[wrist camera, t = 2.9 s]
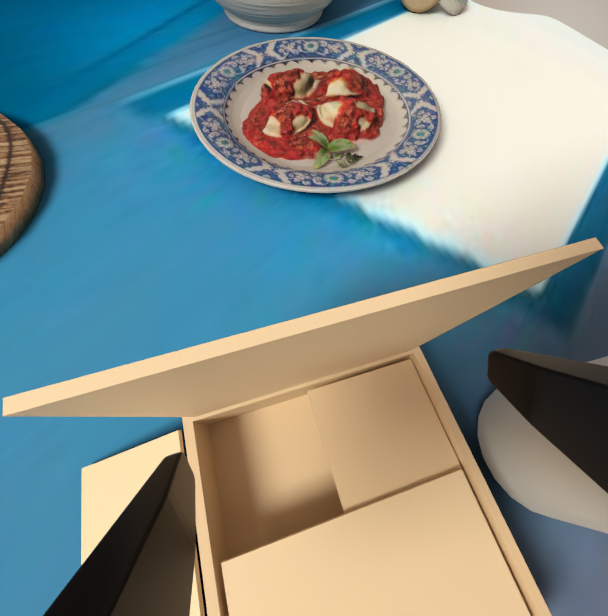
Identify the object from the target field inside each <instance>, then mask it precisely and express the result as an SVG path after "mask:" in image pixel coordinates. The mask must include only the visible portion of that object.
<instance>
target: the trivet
mask: <svg viewBox="0 0 608 616" xmlns="http://www.w3.org/2000/svg"><path fill="white" fill-rule="evenodd" d="M44 188H45V175H44V162H43V160H42V158H41V156H40V155H39V153H38V151H37V149H36V147H35V145H34V144H33V143H32V141H31V140H30V139H29V138H28V137H27V136H26V134H25V133H24V132H23V131H22V130H21V129H20V128H19V127H18V126H16V125H15V124H14V123H13V122H11V121H10V120H9V119H7V118H6V117H5V116H4V115H2V114H0V257H1V256H2V255H3V254H4V253H5V252H6V251H7V250H8V249H9V248H10V247H11V246H12V245H14V243H15V242H16V240H17V239H18V238H19V236H20V235H21V233H22V232H23V231H24V229H25V228H26V226H27V225H28V224H29V222H30V221H31V219H32V218H33V217H34V215H35V213H36V211H37V208H38V205H39V202H40V199H41V196H42V194H43V191H44Z"/></svg>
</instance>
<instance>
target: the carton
mask: <svg viewBox="0 0 608 616" xmlns="http://www.w3.org/2000/svg"><path fill="white" fill-rule="evenodd" d="M182 420H183V428H184V436H185V444H186V451H187V459H188V462H189V465H190V467H191V469H192V471H193V474H194V477H195V508H196V529H197V537H198V545H199V552H200V560H201V568H202V576H203V584H204V591H205V599H206V607H207V615H208V616H552V615H551V613H550V611H549V609H548V607H547V605H546V603H545V601H544V599H543V597H542V595H541V593H540V591H539V589H538V587H537V585H536V583H535V581H534V579H533V577H532V575H531V573H530V571H529V569H528V567H527V565H526V563H525V561H524V558H523V556H522V554H521V552H520V550H519V548H518V546H517V544H516V542H515V540H514V538H513V536H512V534H511V532H510V530H509V528H508V526H507V524H506V522H505V520H504V518H503V516H502V514H501V512H500V510H499V508H498V506H497V504H496V502H495V499H494V497H493V495H492V493H491V491H490V489H489V487H488V485H487V483H486V481H485V479H484V477H483V475H482V473H481V471H480V469H479V467H478V465H477V463H476V461H475V459H474V457H473V455H472V453H471V451H470V449H469V447H468V445H467V443H466V440H465V438H464V436H463V434H462V432H461V430H460V428H459V426H458V424H457V422H456V420H455V418H454V416H453V414H452V412H451V410H450V408H449V406H448V404H447V402H446V400H445V398H444V396H443V394H442V392H441V390H440V388H439V386H438V383H437V381H436V379H435V377H434V375H433V373H432V371H431V369H430V367H429V365H428V363H427V361H426V359H425V357H424V355H423V353H422V351H421V349H420V347H417V348H415V349H413V350H411V351H407V352H404V353H401V354H398V355H395V356H391V357H388V358H385V359H382V360H378V361H375V362H372V363H369V364H365V365H362V366H359V367H356V368H352V369H349V370H346V371H343V372H339V373H336V374H333V375H330V376H326V377H323V378H320V379H317V380H313V381H310V382H307V383H304V384H300V385H297V386H294V387H291V388H287V389H284V390H281V391H278V392H274V393H271V394H268V395H265V396H262V397H258V398H255V399H252V400H249V401H245V402H242V403H239V404H236V405H232V406H229V407H226V408H223V409H219V410H216V411H213V412H210V413H206V414H203V415H200V416H197V417H182ZM177 452H183V453H184V446H183V438H182V430H177V431H175V432H172V433H170V434H167V435H165V436H162V437H160V438H157V439H155V440H152V441H150V442H147V443H145V444H142V445H140V446H137V447H135V448H132V449H130V450H127V451H125V452H122V453H120V454H117V455H115V456H112V457H110V458H107V459H105V460H102V461H100V462H97V463H95V464H92V465H90V466H87V467H85V468H82V531H81V565H82V564H83V563H84V562H85V560H86V559H87V558H88V556H89V555H90V554H91V552H92V551H93V550H94V549H95V547H96V546H97V545H98V543H99V542H100V541H101V539H102V538H103V537H104V535H105V534H106V533H107V532H108V530H109V529H110V528H111V526H112V525H113V524H114V522H115V521H116V520H117V519H118V517H119V516H120V515H121V513H122V512H123V511H124V509H125V508H126V507H127V506H128V504H129V503H130V502H131V500H132V499H133V498H134V496H135V495H136V494H137V493H138V491H139V490H140V489H141V487H142V486H143V485H144V483H145V482H146V481H147V480H148V478H149V477H150V476H151V474H152V473H153V472H154V470H155V469H156V468H157V466H158V465H159V464H160V463H161V461H162V460H163V459H164V458H165V457H166V456H168V455H171V454H174V453H177ZM190 616H205V613H204V605H203V597H202V589H201V581H200V573H199V565H198V557H197V549H196V550H195V564H194V574H193V584H192V595H191V605H190Z"/></svg>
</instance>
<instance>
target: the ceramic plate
mask: <svg viewBox="0 0 608 616" xmlns="http://www.w3.org/2000/svg"><path fill="white" fill-rule="evenodd" d="M190 116H191V121H192V124H193V127H194V129H195V132H196V134H197V136H198V137H199V139H200V141H201V142H202V143H203V145H204V146H205V147H206V148H207V150H208V151H209V152H210V153H211V154H212V155H213V156H215V157H216V158H217V159H218V160H219V161H221V162H222V163H223V164H224V165H226V166H228V167H229V168H231V169H232V170H234V171H236V172H238V173H240V174H241V175H243V176H246V177H248V178H250V179H253V180H255V181H258V182H261V183H264V184H267V185H270V186H274V187H278V188H282V189H287V190H293V191H300V192H310V193H337V192H348V191H356V190H361V189H365V188H370V187H373V186H377V185H380V184H383V183H386V182H388V181H391V180H393V179H395V178H397V177H399V176H401V175H403V174H405V173H407V172H408V171H410V170H411V169H412V168H414V167H415V166H416V165H417V164H419V163H420V162H421V161H422V160H423V159H424V158H425V157H426V156H427V155H428V153H429V152H430V150H431V149H432V148H433V146H434V144H435V142H436V140H437V138H438V135H439V132H440V126H441V114H440V108H439V105H438V102H437V99H436V97H435V95H434V94H433V92H432V91H431V89H430V88H429V86H428V85H427V84H426V82H425V81H424V80H423V79H422V78H421V77H420V76H419V75H418V74H416V73H415V72H414V71H413V70H412V69H411V68H409V67H408V66H407V65H405V64H404V63H402V62H401V61H399V60H397V59H395V58H393V57H391V56H389V55H387V54H385V53H383V52H381V51H378V50H376V49H373V48H370V47H367V46H364V45H361V44H357V43H353V42H349V41H343V40H336V39H330V38H319V37H292V38H284V39H276V40H270V41H266V42H262V43H258V44H254V45H250V46H247V47H245V48H243V49H240V50H238V51H236V52H233V53H231V54H230V55H228V56H226V57H224V58H223V59H221V60H220V61H218V62H217V63H216V64H215V65H213V66H212V67H211V68H210V69H208V70H207V71H206V73H205V74H204V75H203V76H202V77H201V79H200V80H199V82H198V83H197V85H196V87H195V89H194V91H193V94H192V97H191V102H190Z"/></svg>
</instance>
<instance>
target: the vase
mask: <svg viewBox="0 0 608 616" xmlns="http://www.w3.org/2000/svg"><path fill="white" fill-rule="evenodd" d="M215 1H216V2H217V3H218V4H219V5H220V6H222V7H223V8H224V11H225V13H226V15H227V17H228V18H229V19H230V20H231V21H233V22H234V23H235V24H237V25H239V26H241V27H243V28H246V29H249V30H253V31H257V32H263V33H288V32H294V31H299V30H302V29H305V28H307V27H309V26H311V25H313V24H314V23H315V22H317V21H318V20H319V18H320V17H321V15H322V12H323V9H324V8H325V7H327V6H328V5H329V4H330V3H331V1H332V0H215Z"/></svg>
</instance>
